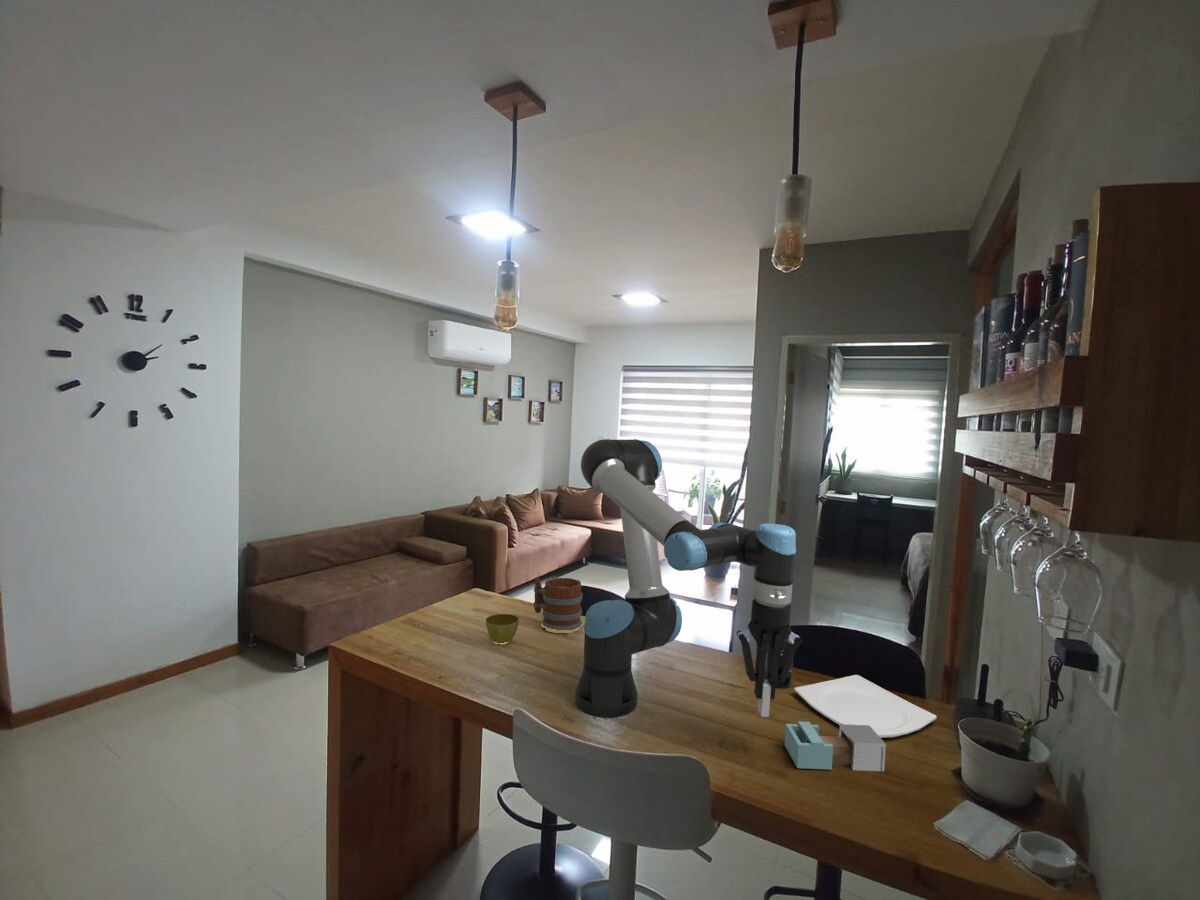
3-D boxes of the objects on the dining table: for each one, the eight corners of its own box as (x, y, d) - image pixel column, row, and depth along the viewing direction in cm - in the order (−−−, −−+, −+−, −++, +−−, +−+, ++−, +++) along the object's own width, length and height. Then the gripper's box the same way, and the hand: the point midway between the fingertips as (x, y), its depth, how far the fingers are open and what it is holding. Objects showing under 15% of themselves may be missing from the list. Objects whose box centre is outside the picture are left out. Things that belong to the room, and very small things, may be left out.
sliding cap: (797, 768, 105) (798, 742, 105) (784, 745, 113) (785, 720, 113) (831, 769, 105) (833, 743, 105) (816, 746, 113) (817, 722, 113)
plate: (868, 751, 113) (869, 739, 113) (786, 696, 135) (786, 686, 135) (945, 729, 123) (945, 717, 122) (856, 681, 145) (856, 672, 145)
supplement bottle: (793, 690, 138) (795, 645, 138) (766, 687, 139) (768, 642, 139) (789, 678, 145) (791, 635, 144) (763, 675, 146) (765, 632, 146)
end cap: (852, 770, 106) (854, 742, 106) (838, 750, 112) (839, 724, 112) (884, 771, 106) (885, 743, 105) (867, 751, 112) (869, 725, 112)
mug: (565, 638, 168) (566, 591, 167) (520, 624, 178) (521, 579, 178) (591, 625, 179) (592, 581, 178) (547, 612, 190) (548, 571, 189)
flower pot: (502, 633, 170) (503, 611, 170) (525, 641, 164) (526, 618, 164) (478, 642, 162) (478, 619, 161) (501, 651, 156) (501, 627, 156)
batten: (812, 764, 108) (813, 745, 107) (806, 754, 111) (807, 735, 111) (872, 767, 107) (873, 747, 107) (864, 756, 111) (865, 737, 111)
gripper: (744, 606, 104) (735, 721, 106) (810, 609, 104) (801, 725, 106) (735, 593, 112) (727, 701, 113) (797, 596, 112) (788, 705, 113)
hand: (763, 713), depth 109 cm, fingers closed
